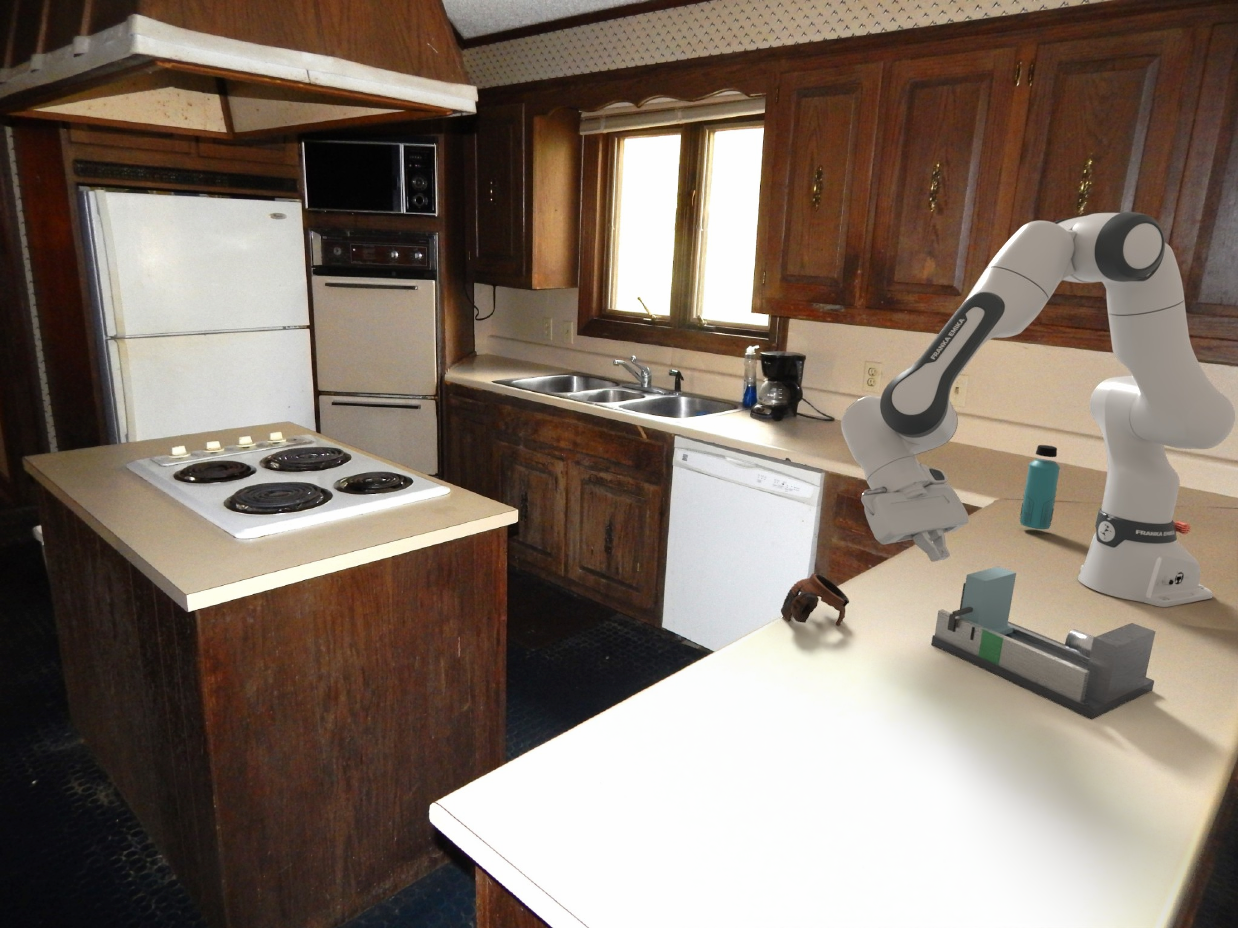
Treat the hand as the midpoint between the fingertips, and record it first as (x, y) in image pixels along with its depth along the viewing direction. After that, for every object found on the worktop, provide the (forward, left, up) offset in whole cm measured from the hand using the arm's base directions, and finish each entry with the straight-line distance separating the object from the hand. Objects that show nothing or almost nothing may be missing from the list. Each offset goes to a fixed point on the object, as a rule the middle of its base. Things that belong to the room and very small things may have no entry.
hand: (941, 559), depth 129 cm
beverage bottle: (-54, -43, -11) cm, 70 cm away
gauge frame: (-6, +16, -11) cm, 20 cm away
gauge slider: (-1, +9, -9) cm, 12 cm away
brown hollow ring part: (+20, -3, -11) cm, 23 cm away
